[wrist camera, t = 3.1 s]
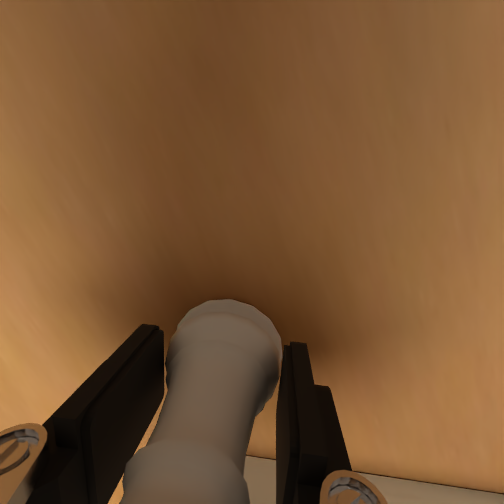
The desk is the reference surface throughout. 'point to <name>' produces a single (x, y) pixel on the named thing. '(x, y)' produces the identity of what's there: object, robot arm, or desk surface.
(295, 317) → the desk surface
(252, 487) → the box
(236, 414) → the rook chess piece
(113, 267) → the desk surface
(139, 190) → the desk surface
